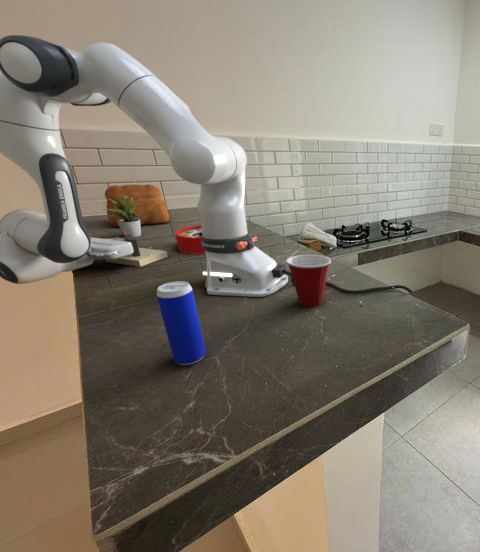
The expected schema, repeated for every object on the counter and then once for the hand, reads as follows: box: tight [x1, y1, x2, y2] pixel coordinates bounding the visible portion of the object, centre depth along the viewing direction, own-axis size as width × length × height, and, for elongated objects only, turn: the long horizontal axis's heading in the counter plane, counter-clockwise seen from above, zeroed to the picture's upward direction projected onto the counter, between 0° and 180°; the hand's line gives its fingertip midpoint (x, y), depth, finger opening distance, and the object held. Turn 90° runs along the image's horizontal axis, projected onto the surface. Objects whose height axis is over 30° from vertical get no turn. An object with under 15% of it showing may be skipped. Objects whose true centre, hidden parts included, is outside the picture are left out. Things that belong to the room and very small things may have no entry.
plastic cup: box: [286, 254, 332, 308], centre depth 82 cm, size 11×11×12 cm
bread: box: [104, 183, 170, 228], centre depth 145 cm, size 18×22×17 cm
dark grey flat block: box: [122, 233, 140, 257], centre depth 105 cm, size 9×2×6 cm, turn 48°
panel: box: [105, 246, 169, 267], centre depth 106 cm, size 14×13×2 cm
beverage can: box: [156, 280, 207, 366], centre depth 58 cm, size 5×5×15 cm
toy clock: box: [174, 224, 206, 255], centre depth 122 cm, size 20×6×20 cm
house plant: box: [102, 195, 146, 238], centre depth 127 cm, size 14×14×16 cm
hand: (122, 240), depth 105 cm, fingers closed
